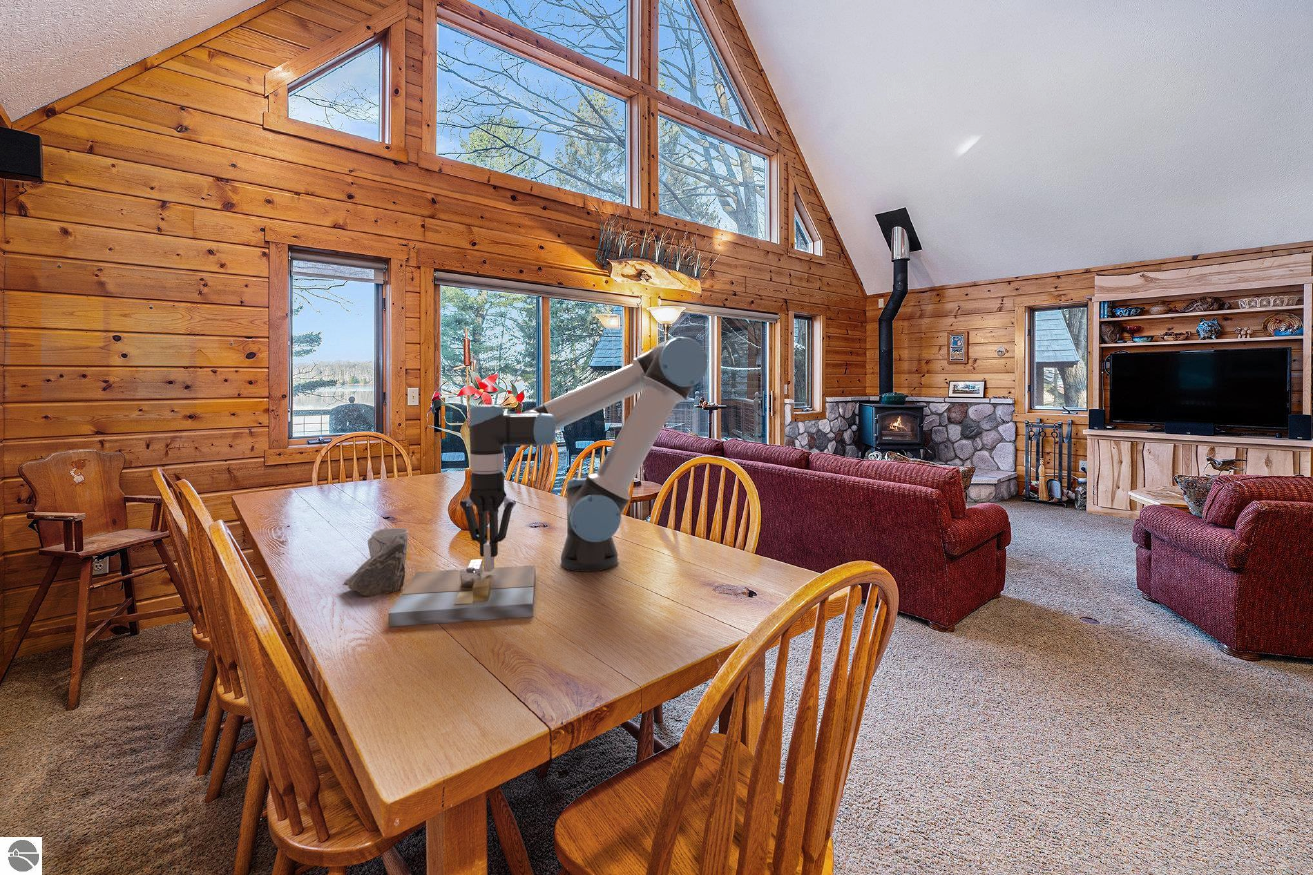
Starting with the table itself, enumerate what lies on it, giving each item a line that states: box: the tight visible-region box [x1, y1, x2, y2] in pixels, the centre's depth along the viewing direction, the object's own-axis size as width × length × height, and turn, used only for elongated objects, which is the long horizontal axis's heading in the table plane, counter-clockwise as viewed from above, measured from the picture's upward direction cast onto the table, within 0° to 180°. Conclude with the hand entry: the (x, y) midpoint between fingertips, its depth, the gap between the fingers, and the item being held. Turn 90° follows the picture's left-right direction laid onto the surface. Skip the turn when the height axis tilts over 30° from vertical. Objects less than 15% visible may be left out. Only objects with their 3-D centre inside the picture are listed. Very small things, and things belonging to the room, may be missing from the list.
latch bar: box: [460, 558, 483, 587], centre depth 137 cm, size 14×4×3 cm, turn 10°
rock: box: [342, 535, 406, 597], centre depth 139 cm, size 12×8×15 cm, turn 124°
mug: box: [367, 527, 409, 568], centre depth 152 cm, size 11×8×10 cm
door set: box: [387, 565, 537, 628], centre depth 132 cm, size 28×26×6 cm
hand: (489, 569), depth 140 cm, fingers closed
